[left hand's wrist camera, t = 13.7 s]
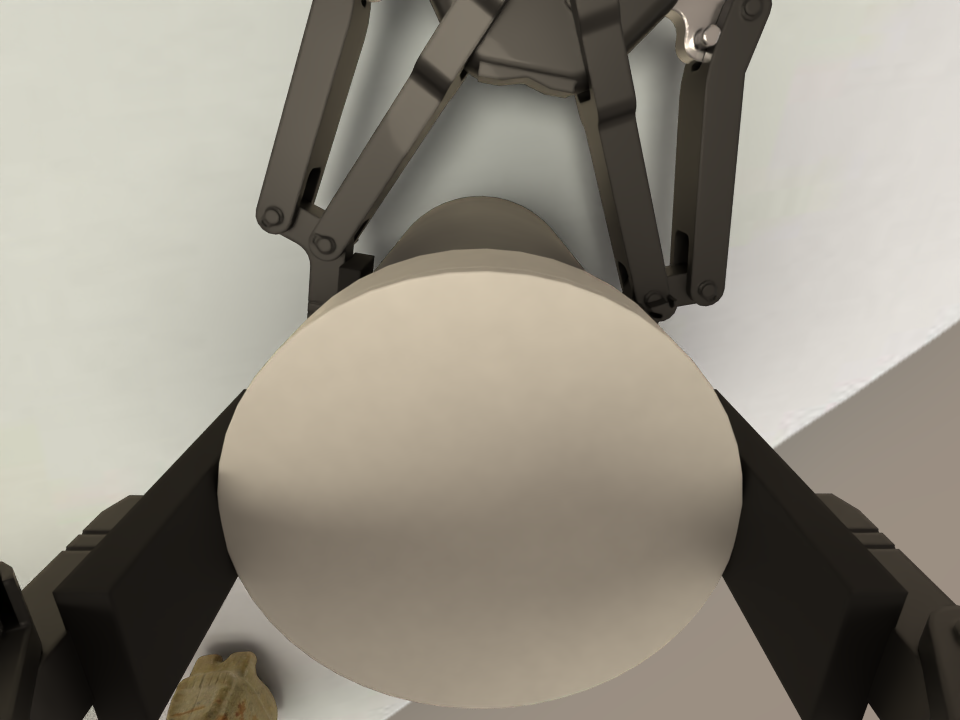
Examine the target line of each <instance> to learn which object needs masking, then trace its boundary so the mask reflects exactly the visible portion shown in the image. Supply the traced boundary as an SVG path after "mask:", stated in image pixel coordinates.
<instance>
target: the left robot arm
mask: <svg viewBox="0 0 960 720" xmlns="http://www.w3.org/2000/svg"><path fill="white" fill-rule="evenodd" d="M246 390H247V389H244V390H243V391H242V392H241V393H240V394H239V395H238V396H237V397H236V398H235V399H234V400H233V402H232V403H231V404H230V405H229V406H228V407H227V408H226V409H225V410H224V411H223V412H222V413H221V414H220V415H219V416H218V417H217V418H216V419H215V421H214V422H213V423H212V424H211V425H210V426H209V427H208V428H207V429H206V430H205V431H204V432H203V433H202V434H201V435H200V436H199V437H198V439H197V440H196V441H195V442H194V443H193V444H192V445H191V446H190V447H189V448H188V449H187V450H186V451H185V452H184V453H183V454H182V455H181V456H180V458H179V459H178V460H177V461H176V462H175V463H174V464H173V465H172V466H171V467H170V468H169V469H168V470H167V471H166V472H165V473H164V474H163V475H162V477H161V478H160V479H159V480H158V481H157V482H156V483H155V484H154V485H153V486H152V487H151V488H150V489H149V490H148V491H147V492H146V493H145V494H144V495H129V496H127V497H126V498H124V499H122V500H121V501H119V502H117V503H116V504H114V505H112V506H111V507H109V508H107V509H106V510H104V511H102V512H101V513H100V514H99V515H98V516H97V517H96V518H95V519H94V520H93V521H92V522H91V523H90V524H89V525H88V526H87V527H86V528H85V529H84V530H83V533H82V535H78V536H77V537H76V538H75V539H74V540H73V541H72V542H71V543H70V544H69V545H68V546H67V547H66V551H62V552H61V553H60V554H58V555H57V556H56V557H55V558H54V559H53V560H52V561H51V562H50V563H49V564H48V565H47V566H46V567H45V568H44V569H43V570H42V571H41V572H40V573H39V574H38V575H37V576H36V577H35V578H34V579H33V580H32V581H31V582H30V583H29V584H28V585H27V586H26V587H25V588H24V589H23V590H22V591H21V589H20V586H19V584H18V581H17V578H16V576H15V573H14V571H13V568H12V567H11V566H9V565H7V564H5V563H4V562H0V720H83V718H84V717H85V715H86V714H87V712H88V711H89V709H90V708H91V706H92V705H93V707H94V709H95V712H96V715H97V718H98V720H159V718H160V716H161V714H162V712H163V711H164V709H165V707H166V705H167V703H168V702H169V700H170V698H171V696H172V694H173V693H174V691H175V689H176V687H177V685H178V684H179V682H180V680H181V678H182V676H183V675H184V673H185V671H186V669H187V667H188V666H189V664H190V662H191V660H192V658H193V657H194V655H195V653H196V651H197V649H198V648H199V646H200V644H201V642H202V640H203V639H204V637H205V635H206V633H207V631H208V630H209V628H210V626H211V624H212V622H213V620H214V619H215V617H216V615H217V613H218V611H219V610H220V608H221V606H222V604H223V602H224V601H225V599H226V597H227V595H228V593H229V592H230V590H231V588H232V586H233V584H234V583H235V581H236V579H237V577H238V574H237V572H236V569H235V567H234V565H233V562H232V560H231V558H230V555H229V553H228V550H227V546H226V541H225V537H224V532H223V527H222V523H221V517H220V512H219V506H218V496H217V490H218V474H219V462H220V457H221V453H222V449H223V444H224V440H225V435H226V432H227V430H228V427H229V425H230V422H231V420H232V417H233V415H234V413H235V410H236V408H237V405H238V403H239V402H240V400H241V398H242V397H243V395H244V393H245V392H246ZM714 391H715V393H716V394H717V396H718V398H719V400H720V402H721V404H722V406H723V408H724V410H725V412H726V414H727V415H728V418H729V421H730V424H731V427H732V430H733V433H734V436H735V439H736V442H737V445H738V451H739V457H740V463H741V469H742V509H741V514H740V519H739V524H738V529H737V534H736V538H735V543H734V547H733V550H732V553H731V556H730V559H729V562H728V564H727V566H726V568H725V570H724V572H723V574H722V577H723V578H724V580H725V582H726V584H727V586H728V587H729V589H730V591H731V593H732V595H733V596H734V598H735V600H736V602H737V604H738V605H739V607H740V609H741V611H742V613H743V614H744V616H745V618H746V620H747V622H748V623H749V625H750V627H751V629H752V631H753V633H754V634H755V636H756V638H757V640H758V641H759V643H760V645H761V647H762V649H763V651H764V652H765V654H766V656H767V658H768V660H769V661H770V663H771V665H772V667H773V669H774V670H775V672H776V674H777V676H778V678H779V679H780V681H781V683H782V685H783V687H784V688H785V690H786V692H787V694H788V696H789V697H790V699H791V701H792V703H793V705H794V706H795V708H796V710H797V712H798V714H799V715H800V717H801V719H802V720H862V719H863V716H864V713H865V710H866V708H867V705H868V703H869V704H870V706H871V707H872V709H873V710H874V712H875V713H876V715H877V716H878V717H879V719H880V720H960V606H958V605H956V604H955V603H954V602H953V601H952V600H951V599H950V598H949V597H948V596H946V594H944V593H943V592H942V591H941V590H940V589H939V588H938V587H937V586H936V585H935V584H934V583H933V582H932V581H931V580H930V579H929V578H928V577H927V576H926V575H925V574H924V573H923V572H922V571H921V570H920V569H919V568H918V567H917V566H916V565H915V564H914V563H913V562H912V561H911V560H910V559H909V558H908V557H907V556H906V555H905V554H904V553H903V552H901V551H900V550H899V549H895V545H894V544H893V543H892V542H891V541H890V540H889V539H888V538H887V537H886V536H885V535H884V534H883V533H879V531H878V528H877V527H876V526H875V525H874V524H873V523H872V522H871V521H870V520H869V519H868V518H867V517H866V516H865V515H864V514H863V513H862V512H861V511H860V510H858V509H857V508H855V507H853V506H851V505H850V504H848V503H847V502H845V501H843V500H842V499H840V498H838V497H836V496H835V495H833V494H815V493H814V492H813V491H812V490H811V489H810V488H809V487H808V486H807V485H806V484H805V482H804V481H803V480H802V479H801V478H800V477H799V476H798V475H797V474H796V473H795V472H794V471H793V470H792V469H791V468H790V467H789V466H788V465H787V464H786V462H785V461H784V460H783V459H782V458H781V457H780V456H779V455H778V454H777V453H776V452H775V451H774V450H773V449H772V448H771V447H770V446H769V444H768V443H767V442H766V441H765V440H764V439H763V438H762V437H761V436H760V435H759V434H758V433H757V432H756V431H755V430H754V429H753V428H752V427H751V425H750V424H749V423H748V422H747V421H746V420H745V419H744V418H743V417H742V416H741V415H740V414H739V413H738V412H737V411H736V410H735V409H734V408H733V406H732V405H731V404H730V403H729V402H728V401H727V400H726V399H725V398H724V397H723V396H722V395H721V394H720V393H719V392H718V391H717V390H716V389H714Z"/></svg>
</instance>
